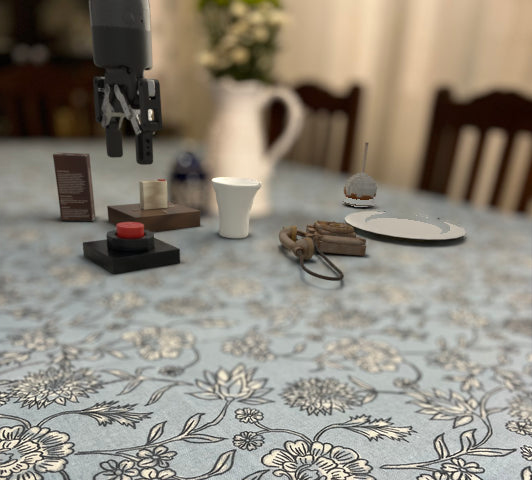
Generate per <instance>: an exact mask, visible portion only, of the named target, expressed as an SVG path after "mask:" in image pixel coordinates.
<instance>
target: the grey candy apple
mask: <svg viewBox="0 0 532 480" xmlns="http://www.w3.org/2000/svg"><path fill="white" fill-rule="evenodd" d="M368 149H369V142H368V141H367V142H366V141H365V143H364V148H363V156H362V157H363V158H362V164H361V170H360V171H361V172H356V174H353V175H351V176H350V177H349V178H348V179H347V181H346V182H347V183H344V186H343V190H342V191H343V194H344V197H348V198H352V199H356V200H357V199H360V200H369V199H373V200H374V198H375V197H376V196H377V190H378V186H377V185H376V184H377V181H375V179H374V178H373V176H370V175H369V174H367V173H365V172H366V171H365V170H366V165H367V156H368ZM343 202H344V201H343V200H342V203H343ZM344 203H346V202H344ZM344 203H343V204H344ZM348 204H349V205H353V206H354V205H355V206H369V207H372V206H371V205H356V204H350V203H346V204H345V205H348ZM349 205H348V206H349Z"/></svg>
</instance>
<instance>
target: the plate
mask: <svg viewBox="0 0 532 480" xmlns="http://www.w3.org/2000/svg"><path fill="white" fill-rule="evenodd" d="M377 211H378V210H368V211H367V210H366V211H365V210H364V211H358V212H357V211H356V212H352V213H350V214H347V215H345V218H344V222H345V224H347V225H351V226H352V227H353V229H356V230H359V231H362V232H365V233H368V234H371V235H374V236H376V237H377V236H378V237H381V238H387V239H391V240H397V241H406V242H418V243H419V242H420V243H421V242H426V243H427V242H428V243H429V242H445V241H453V240H452V239H454V240H457V238H458V239H460V238H459V237H461V238H463V237H462V236H464V235H465V233H466V232H467V230H466V231H465V229H466V228H465V227H463V226H462V227H463V228H462V227H458V226H456V225H453V224H450V223H447V222H444V223H446V224H448V225H449V226H450V231H448V232H447V233H443V234H440V233H441V232H442V229H440V228H439V227H437V226H435V225H432V224H428V223H424V222H420V221H414V220H408V219H397V218H377V219H371V220H369V221H367V223H366V222H365V219H366V218H367V217H370V216H371V215H375V214H382V213H385V212H377ZM416 216H417V215H416ZM422 217H423V216H422ZM426 218H428V217H426ZM464 228H465V229H464ZM465 236H466V235H465ZM465 236H464V237H465ZM444 240H445V241H444Z"/></svg>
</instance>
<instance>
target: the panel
mask: <svg viewBox="0 0 532 480" xmlns="http://www.w3.org/2000/svg"><path fill="white" fill-rule="evenodd" d="M170 201H171V200H167V208H160V209H148V210H143V209H141V207H140V202H139V203H137V202H136V203H127V204H126V203H125V204H116V205H107V206H106V208H107V220H108V223H111V224H113V225H114V226H116V224H118V223H122V222H138V223H141V224H143V225H144V230H149V231H151V232H153V233H157V232H167V231H173V230H181V229H188V228H196V227H201V210H200V209H196V208H193V207H190V206H187V205H185V204H181V203H178V204H173V203H171V202H170ZM180 204H181V205H180Z"/></svg>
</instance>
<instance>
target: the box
mask: <svg viewBox="0 0 532 480" xmlns="http://www.w3.org/2000/svg"><path fill="white" fill-rule="evenodd" d="M52 159H53V166H54V167H53V168H54V174H55V181H56V189H57V196H58V206H59V213H60V220H61V221H62V222H63V221H87V222H89V221H90V222H94V220H95V219H96V209H95V198H94V187H93V178H92V167H91V156H90V153H86V152H85V153H83V152H55V153H53V154H52Z"/></svg>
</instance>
